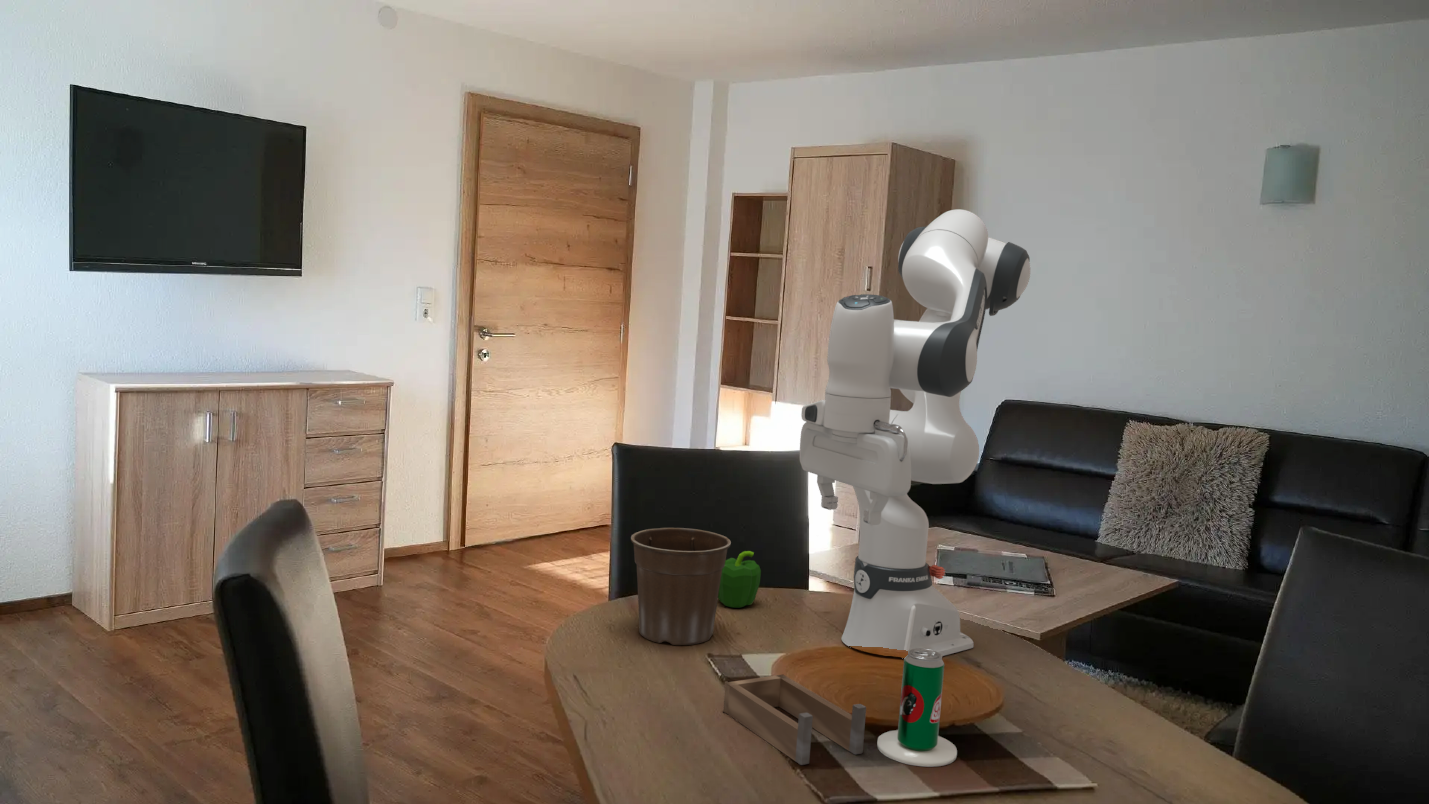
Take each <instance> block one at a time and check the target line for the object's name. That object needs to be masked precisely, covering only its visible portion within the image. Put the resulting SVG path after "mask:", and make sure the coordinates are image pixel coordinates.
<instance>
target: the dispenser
mask: <svg viewBox="0 0 1429 804" xmlns="http://www.w3.org/2000/svg"><path fill="white" fill-rule="evenodd" d="M723 697H724V698H723V710H722V711H723V712H724V713H726V714H727V715H728V716H730V717H731V718H732V719H734V720H735V721H737V722H738V723H739V724H741V725H742V726H744V727H746V728H747V729H748V730H750V731H751V732H753V733H755V735H757V736H758V737H759V738H761V739H762V740H764V741H766V742H767V743H768V744H770V745H772V746H773V747H774V748H775V749H777V750H779V751H780V752H781V753H783V754H784V755H786V756H787V757H789V758H790V759H791V760H793V761H794V762H796V763H798V765H799V766H804V765H808V764H809V765H810V756H811V741H812V733H813V732H812V731H813V729H814V730H816V731H817V732H818V733H820V734H821V735H823V736H824V737H826V738H828V739H829V740H831V741H832V742H834V743H836V744H837V745H839V746H840V747H842V748H844V749H845V750H847V751H848V752H850V753H852V754H853V755H860V754H863V752H864V751H863V750H864V739H865V727H866V725H865V724H866V717H867V715H866V714H867V706H865V705H863V704H861V703H855V704H852V709H851V711H852V712H851V713H849V711H846V710H844V709H843V708H841V707H840V706H838V705H836V704H834V703H833V702H832V701H831V702H830V701H829V700H827V699H825V698H824V697H823V696H821V695H819V694H818V693H816V692H814V691H813V690H810V689H809V688H807V687H806V686H803V685H802V684H801V683H799V682H797V681H795V680H794V679H791V678H790V677H788V676H786V675H785V674H777V675H770V676H768V675H767V676H762V677H754V678H748V679H741V680H735V681H729V682H728V681H727V682H724V696H723ZM777 707H779V708H780V709H782V710H784V711H785V712H787V713H788V714H789V715H792V716H793V717H794V718H797V719H798V721H795V720H793V719H792V718H790V717H789V716H788V715H787V714H785V713H783V712H781V711H780V710H778V709H776V708H777Z"/></svg>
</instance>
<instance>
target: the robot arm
mask: <svg viewBox="0 0 1429 804" xmlns="http://www.w3.org/2000/svg"><path fill="white" fill-rule="evenodd" d="M897 262H898V263H897V265H898V268H897V269H898V274H899V276H900V278H901V279H902V281H903V284H904V286H905V289H906V291H907V292H908V293H909V295H910V296H911V297H912V299H914V301H916V302H917V303H918V304H919V305H921V306H922V307H925V308H926V309H925V311H924V312H923V314H921V315H922V316H921V317H920V319H919V320H902V319H895V316H894V306H893V301H892V300H891V299H890V298H889V297H886V296H884V295H879V294H871V293H870V294H869V293H868V294H867V293H866V294H864V293H862V294H852V295H847V296H844V297H842V298H841V299H839V300H838V301H837V302H836V304H835V307H834V310H833V314H832V319H831V324H830V329H829V336H828V344H827V345H828V346H827V356H826V357H827V359H826V360H827V365H828V371H829V372H828V374H829V375H828V380H827V384H826V386H825V390H824V391H825V392H824V399H820V400H819V401H815V402H812V403H809V404H806V405H803V406H802V408H801V414H800V415H801V420H802V421H803V422H805V423H803V424H802V427H801V432H800V439H799V440H800V441H799V463H800V465H801V468H802V471H805V472H807V473H810V474H814V475H816V476H817V478H816V483H817V486H818V489H819V490H818V491H819V493H820V495H821V501H820V502H821V504H820V507H821V508H823V509H826V510H829V511H831V510H837V508H838V501H839V497H838V496H836V495H835V489H834V486H833V485H834V483H835V482H840V483H843V484H846V485H848V486H851V487H852V488H853V490H854V493H855V496H856V500H857V504H858V511H859V535H858V536H859V538H858V539H859V540H858V542H859V543H858V553H857V554H858V555H857V556H856V557H855V561H854V568H853V584H854V587H853V588H854V590H853V595H852V601H851V605H850V609H849V613H848V617H847V621H846V624H845V628H844V630H843V634H842V635H841V641H842V642H843V644H845V645H846V646H848V647H849V646H862V647H883V648H889V649H897V650H906V651H909V650H910V649H916V648H922V649H929V650H933V651H936V652H939V653H940V654H941V655H942V657H944V656H948V655H951V654H954V653H959V652H962V651H966V650H967V651H968V650H970V649H973V648H974V641H973V639H972V638H971V637H970V636H968V635H967V634H965V633H963V632H962V631H961V617H960V613H959V609H958V608H957V607H956V605H954V604H953V602H951V601H950V599H948V598H947V597H946V596H944V594H942V593H941V592H940V591H939V590H938V589H937V588H936V587H935V586H934V585H933V580H932V577H935V578H936V579H937V580H941V579H943V578H944V576H945V575H946V570H945V568H944V567H942V566H938V565H937V564H932V565H929V563H927V549H928V538H929V529H930V528H929V526H930V525H929V524H930V522H929V518H928V516H927V513H926V512H925V510H924V509H923V508H922V507H921V506H919V505H918V504H917V503H916V502H915V501H913V500H912V499H911V497H909V495H908V493H909V492H910V490H911V485H912V481H913V482H918V483H924V484H932V485H942V484H943V485H944V484H960V483H963V482H964V481H965V480H967V479H968V478H969V477H970V476H971V475H972V473H973V472H974V470H975V469H976V466H977V465H978V461H979V457H980V445H979V440H978V438H977V435H976V433H975V431H974V429H973V427H971V426H970V425H969V423H968V422H967V421H966V420H965V418H964V416H963V415H962V412H961V408H960V399H961V397H960V396H961V393H962V391H964V390H965V389H966V388H967V387H969V385H970V384H972V382H973V379H974V376H975V373H976V370H977V365H978V364H977V363H978V349H979V348H978V347H979V343H980V339H981V334H982V329H983V324H984V320H985V316H986V310H988V315H989V317H993V316H996V315H997V314H998V312H999V311H1001V310H1004V309H1008V308H1009V307H1010V306H1012V305H1013V304H1015V303H1016V302H1017V301H1018V300H1019V299H1020V298H1021V296H1022V295H1023V293H1024V292H1025V290H1026V288H1027V287H1028V284H1029V282H1030V277H1031V263H1030V256H1029V254H1028V252H1027V250H1026V249H1025V248H1023V247H1021V246H1019V245H1017V244H1015V243H1013V242H1011V241H1008V242H1003V241H1001V240H998V239H995V238H993V237H989V233H988V229H987V226H986V225H985V223H984V221H983V220H982V218H980V217H979V216H978V215H977V214H976V213H974V212H972V211H969V210H968V209H967V210H966V209H959V208H957V209H951V210H948V211H947V210H946V211H945V212H943V213H942V214H940V215H939V216H938V217H936V218H935V219H934V220H933V221H931V222H930V223H929V224H928V225H925V226H920V227H919V226H918V227H916V228H914V229H912V230H910V231H909V232H908V233H907V235H906V236H905V238H904V240H903V242H902V244H901V245H900V248H899V251H898V257H897ZM891 389H897V390H899V391H900V393H901V394H902V396H904V398H906V399H907V400H908V401H910V402H911V403H912V404H913V405H912V407H911V408H910V409H909V410H904V411H903V410H897V409H891V401H892V390H891Z"/></svg>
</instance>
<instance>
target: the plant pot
mask: <svg viewBox="0 0 1429 804" xmlns="http://www.w3.org/2000/svg"><path fill="white" fill-rule="evenodd" d="M630 541H631V543H632V544H633V553H634V563H635V564H636V578H637V599H638V601H637V602H638V603H637V604H638V607H637V608H638V631H639V634H640V635H641V636H642V637H643V638H645V639H647V640H649V641H652V642H654V643H658V644H662V643H663V642H667V643H670V644H671V645H672V646H693V645H698V644H701V643H704V642H708V641H710V638H711V637H712V636H713V635H714V627H715V619H716V614H717V607H718V601H719V599H718V593H719V587H720V580H721V574H722V568H724V566H725V560H727V555H728V554H727V553H728V549H729V548H730V547H731V543H732V542H731V540H730V539H729V538H728V537H727V536H724V535H722V534H719V533H716V532H712V531H708V530H704V529H703V530H702V529H696V528H688V527H687V528H684V527H660V528H648V529H644V530H640V531H638V532H634V533H633V534H631V536H630Z"/></svg>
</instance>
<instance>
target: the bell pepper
mask: <svg viewBox="0 0 1429 804" xmlns="http://www.w3.org/2000/svg"><path fill="white" fill-rule="evenodd" d="M754 553H755V552H754V551H751V550H744V551H742V552H741V553H739V554H738V556H737V558H734V557H730V558H727V559H726V560H725V566H724V568H722V574H721V580H720V587H719V593H718V601H719V602H720V603H721V604H723V605H724V606H725V607H729V608H739V609H740V608H743V607H745V606H751V605H752V604H753V603H754V601H755V599H756V596H757V593H758V590H759V587H760V584H761V576H762V570H761V568H760V565H759V564H757V562H756V561H755V560H751V559H747V560H744V558H745V557H750V558H752V557H753V556H754Z"/></svg>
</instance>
